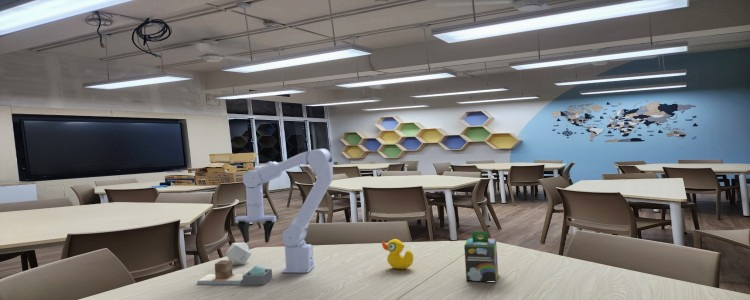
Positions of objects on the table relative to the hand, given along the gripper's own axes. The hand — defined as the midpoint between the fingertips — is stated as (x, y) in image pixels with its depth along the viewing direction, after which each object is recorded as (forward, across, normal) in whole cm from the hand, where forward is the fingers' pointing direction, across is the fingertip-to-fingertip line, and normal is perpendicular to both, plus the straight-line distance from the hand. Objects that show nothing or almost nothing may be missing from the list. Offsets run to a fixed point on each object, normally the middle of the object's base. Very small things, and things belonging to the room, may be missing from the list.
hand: (256, 242), depth 155 cm
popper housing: (+10, +5, -12) cm, 17 cm away
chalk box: (+10, +77, -9) cm, 78 cm away
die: (+10, -11, +8) cm, 17 cm away
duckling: (+10, +50, +1) cm, 51 cm away
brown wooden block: (+9, -7, -12) cm, 16 cm away
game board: (+10, -7, -12) cm, 17 cm away
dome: (+9, +5, -12) cm, 16 cm away
